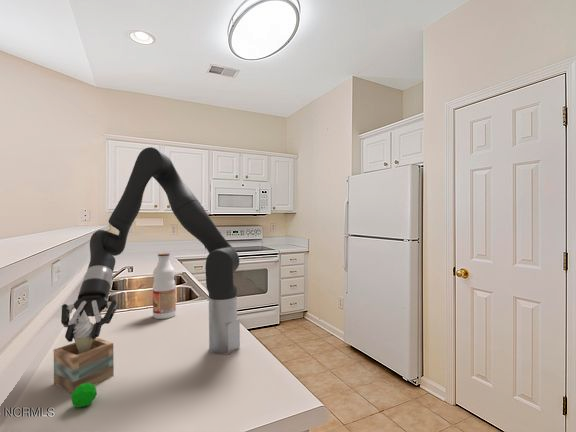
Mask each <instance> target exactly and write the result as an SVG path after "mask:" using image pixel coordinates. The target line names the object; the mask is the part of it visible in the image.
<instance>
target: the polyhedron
mask: <svg viewBox="0 0 576 432" xmlns="http://www.w3.org/2000/svg"><path fill="white" fill-rule="evenodd" d="M95 385H96V384H95ZM95 385H93V384H92V383H83V384H81V385H80V386H78V387H77V388H76V389H75V390H74V391H73V393H71V395H70V397H71V402H72V405H73V406H74V407H75V408H84V407H85V408H86V407H88V406H89V405H90V404H92V403H93V401H94V400H96V397H97V394H98V393H97V388H96V386H95Z"/></svg>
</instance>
